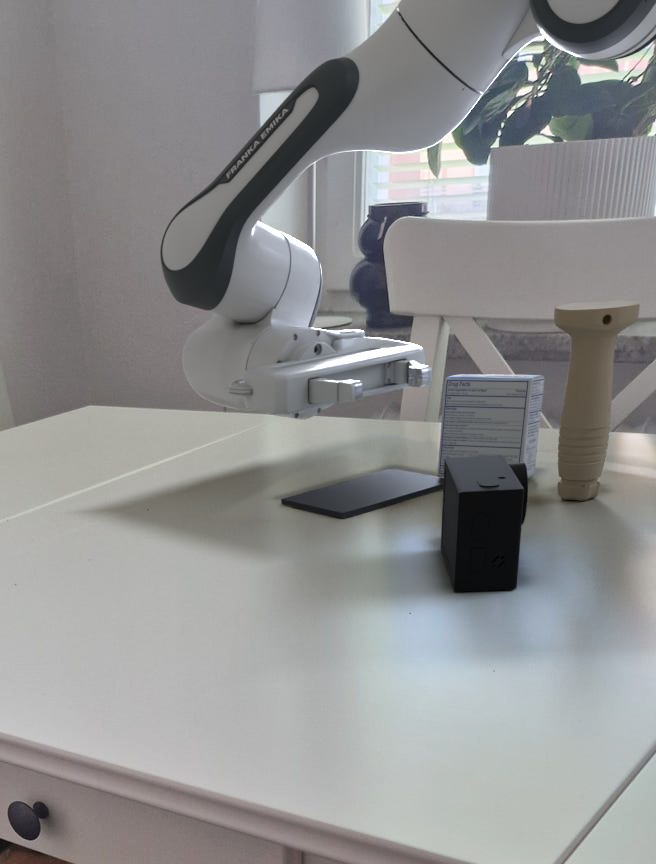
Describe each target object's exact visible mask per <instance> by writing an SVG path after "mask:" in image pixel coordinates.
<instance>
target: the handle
mask: <svg viewBox="0 0 656 864" xmlns="http://www.w3.org/2000/svg"><path fill="white" fill-rule="evenodd" d="M640 309H641V302H640V301H637V300H631V299H630V300H629V299H612V300H611V299H609V300H592V301H581V302H572V303H565V304H559V305H555V306H554V309H553V324H554V325H555V326H556V327H557V328H558V329H559V330H561V331H563V332H565V333H566V334H568V336H570V354H569V360H568V361H569V362H568V367H567V368H568V369H567V376H566V384H565V391H564V397H563V403H562V410H561V415H560V421H559V422H560V423H559V426H560V427H559V431H558V434H559V435H558V444H557V450H558V451H557V471H558V477H559V478H560V480H558V481H557V494H558V496H559V498H560V497H561V498H562V499H563V500H566V501H579V502H584V501H587V500H589V499H595V498H596V497H597V496H598V495H599V491H600V487H601V481H599V478H600V477H601V476H602V474H603V471H604V466H605V462H606V457H607V450H608V447H609V440H610V431H611V430H610V429H611V426H610V425H611V421H612V420H611V414H612V399H613V377H614V364H615V363H614V362H615V349H616V345H617V338H618V335H619V334H620V333H621V332H623V331H624V330H625V329H627V328H628V327H630V326H632V325H634V323H636V322H637V321H638V319H639V316H640Z"/></svg>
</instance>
